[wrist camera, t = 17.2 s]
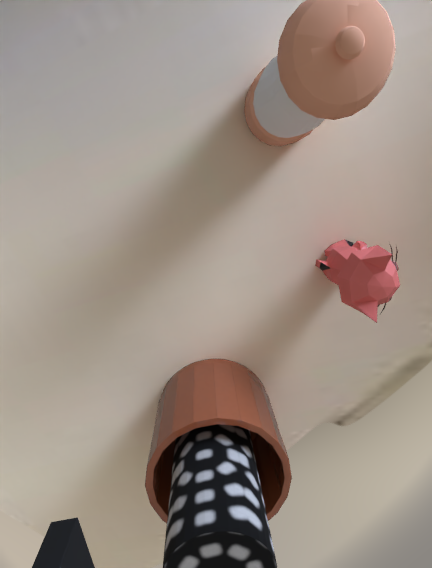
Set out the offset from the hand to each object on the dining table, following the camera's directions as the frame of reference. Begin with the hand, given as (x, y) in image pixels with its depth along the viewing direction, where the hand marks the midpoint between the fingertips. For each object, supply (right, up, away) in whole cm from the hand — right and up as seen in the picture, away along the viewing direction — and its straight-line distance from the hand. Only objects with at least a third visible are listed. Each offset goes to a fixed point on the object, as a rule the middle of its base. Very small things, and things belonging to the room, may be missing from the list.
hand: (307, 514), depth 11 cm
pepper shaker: (+4, +25, +28) cm, 37 cm away
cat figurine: (+11, +9, +32) cm, 35 cm away
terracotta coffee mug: (-3, -11, +37) cm, 39 cm away
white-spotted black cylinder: (-3, -9, +36) cm, 37 cm away
